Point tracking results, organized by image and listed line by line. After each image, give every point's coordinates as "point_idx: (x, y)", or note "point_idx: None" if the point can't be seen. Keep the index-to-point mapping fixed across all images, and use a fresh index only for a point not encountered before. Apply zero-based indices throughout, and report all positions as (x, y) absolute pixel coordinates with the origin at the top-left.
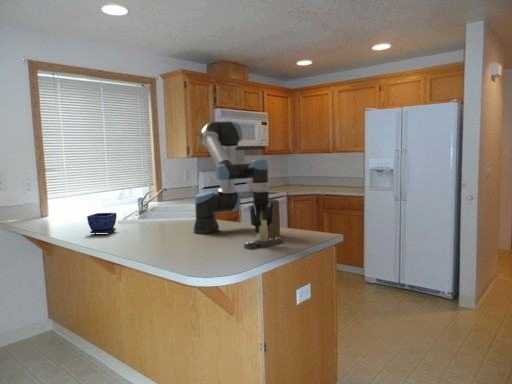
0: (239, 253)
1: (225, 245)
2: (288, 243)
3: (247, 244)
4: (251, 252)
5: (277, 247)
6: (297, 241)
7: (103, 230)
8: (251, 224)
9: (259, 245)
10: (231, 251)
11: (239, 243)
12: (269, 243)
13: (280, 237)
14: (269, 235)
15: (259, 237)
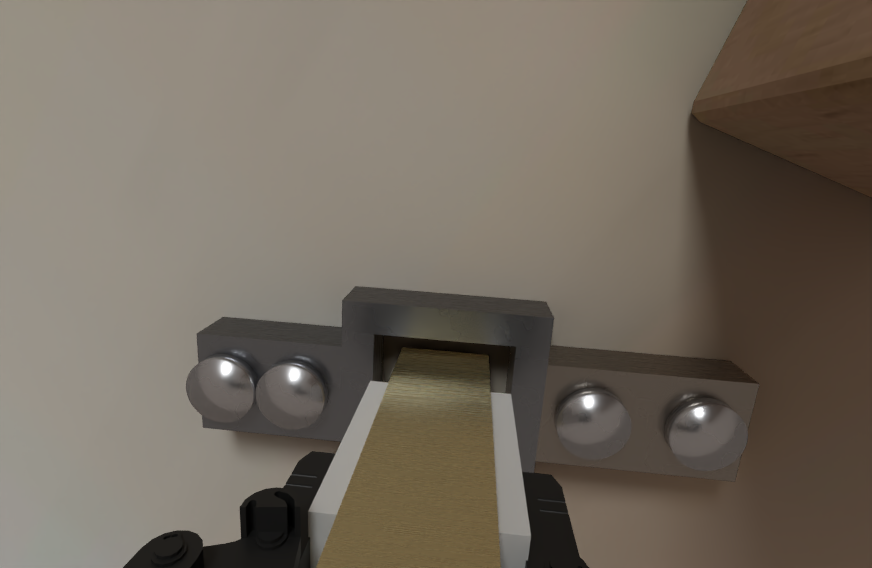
0: (79, 449)
1: (100, 22)
2: (711, 520)
3: (201, 401)
4: (187, 502)
5: None
6: (860, 532)
7: None
8: (145, 548)
9: None
10: (45, 332)
11: (300, 68)
12: None
13: (727, 463)
14: (817, 161)
15: None
